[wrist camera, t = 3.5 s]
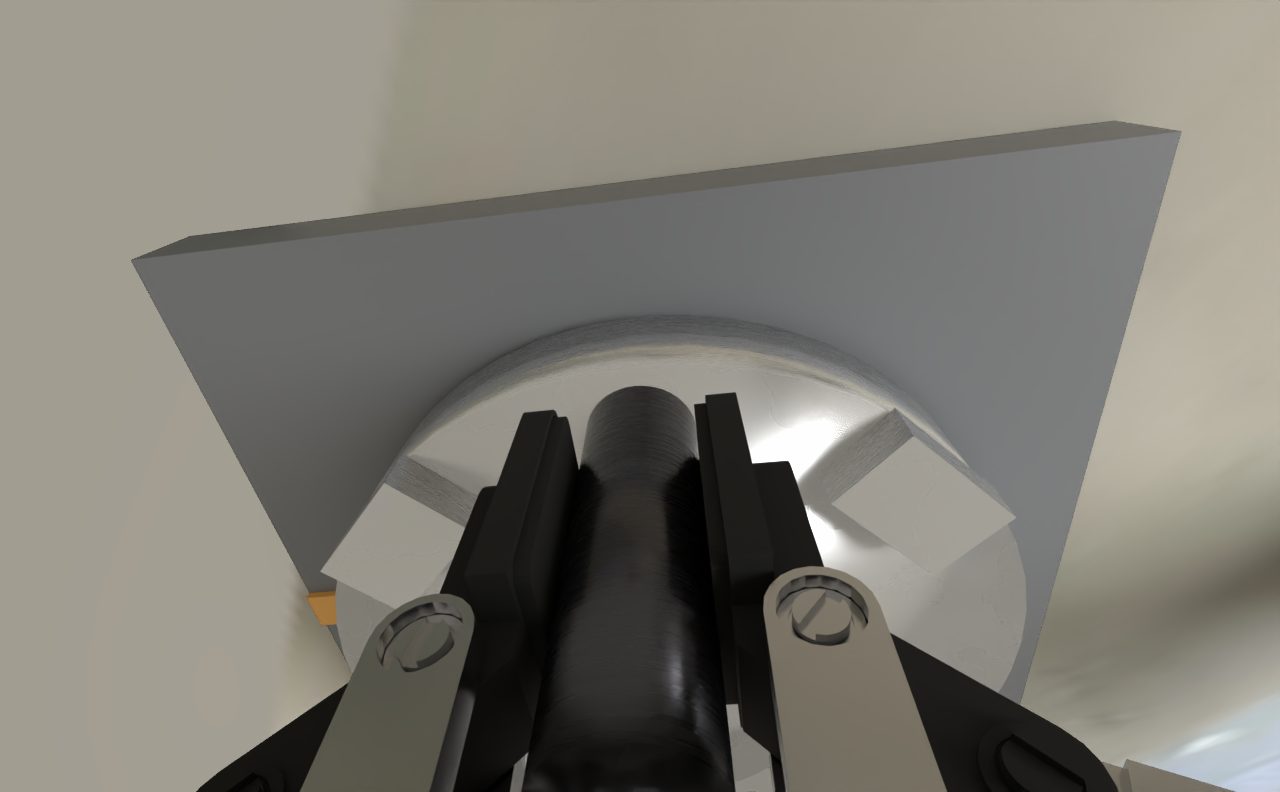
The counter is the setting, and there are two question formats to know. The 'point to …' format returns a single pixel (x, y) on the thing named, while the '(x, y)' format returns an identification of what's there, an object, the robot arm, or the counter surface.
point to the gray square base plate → (692, 309)
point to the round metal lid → (687, 533)
